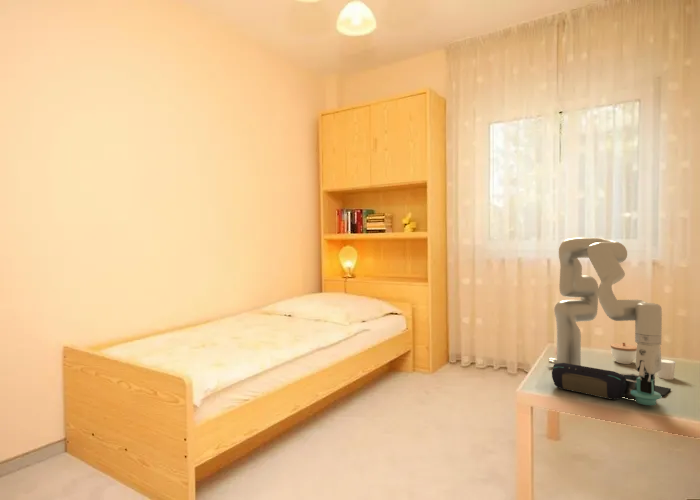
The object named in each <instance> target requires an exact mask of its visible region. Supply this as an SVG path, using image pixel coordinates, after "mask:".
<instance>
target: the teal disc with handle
mask: <svg viewBox="0 0 700 500" xmlns="http://www.w3.org/2000/svg"><path fill="white" fill-rule="evenodd" d="M636 379H637V389H634V390H631V395H632V396H634V397H636V401H635V402H636V403H637V404H640V405H644V406H656V405H657V400H661V399H662V397H661V394H660V393H658V392H655V391H654V384H653V381H654V379H651V381H650V382H652V393H651V394H649V393H645V392H641V391H640V381H641V380H640V377H638V378H636Z"/></svg>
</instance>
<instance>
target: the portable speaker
mask: <svg viewBox="0 0 700 500" xmlns="http://www.w3.org/2000/svg"><path fill="white" fill-rule="evenodd" d="M622 374H623V373H619V372H617V371H614V370H613V371H612V370H607V369H602V368H595V367H591V366H590V367H589V366H585V365H584V366H583V365H581V366H579V365H573V364H567V363H557V364H553V366H552V370H551V378H552V381H553V383H554V385H555V386H556V387H557V388H558V389H561V388H562V389H561V390H566V389H568V390H567V391H570V390H573V391H572V392H575V391H577V392H576V393H580V392H582V393H581V394H585V393H587V394H586V395H590V394H592V395H591V396H594V395H596V396H595V397H599V396H601V397H600V398H604V397H606V399H609V398H610V399H611V400H620V399H623V398H622V396H623V395H624V393H625V392H626V386H627V384H626V378H625V376H623V375H622Z"/></svg>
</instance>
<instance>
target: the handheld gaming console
mask: <svg viewBox="0 0 700 500" xmlns="http://www.w3.org/2000/svg"><path fill="white" fill-rule="evenodd" d="M655 392H658V393H660V394H661V396H662V397H661V398H665V397H666V396H667V395H668V394H669V393H671V388H669V387H665V386H661V385H660V386H659V385H655Z"/></svg>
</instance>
